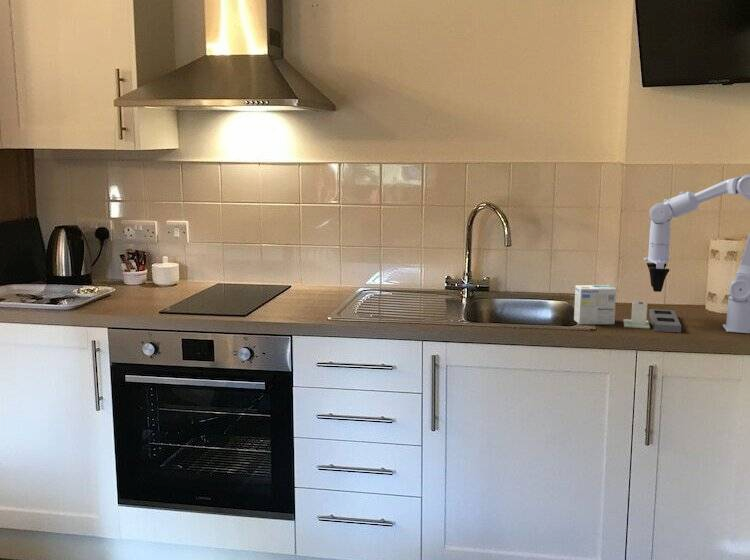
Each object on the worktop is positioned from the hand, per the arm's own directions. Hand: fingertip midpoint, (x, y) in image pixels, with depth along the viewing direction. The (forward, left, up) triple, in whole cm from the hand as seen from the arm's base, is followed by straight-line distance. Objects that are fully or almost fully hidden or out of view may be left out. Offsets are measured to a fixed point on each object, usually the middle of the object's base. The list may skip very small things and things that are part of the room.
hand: (656, 289), depth 238 cm
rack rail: (-2, +5, -9) cm, 11 cm away
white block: (+5, +8, -9) cm, 13 cm away
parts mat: (+6, +8, -9) cm, 13 cm away
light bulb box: (+18, +8, -10) cm, 22 cm away
